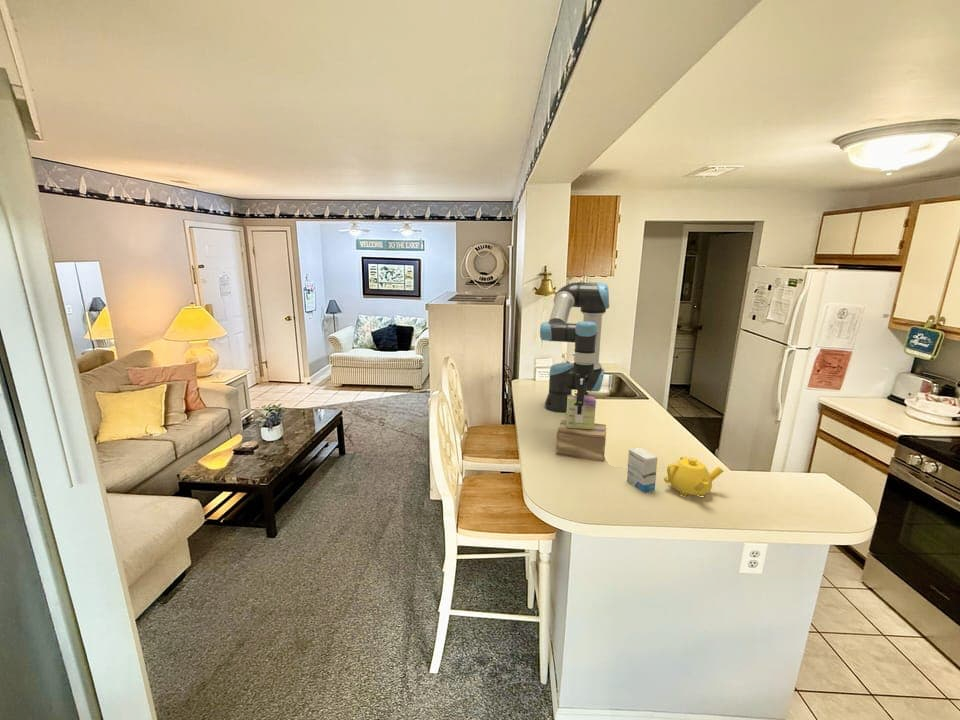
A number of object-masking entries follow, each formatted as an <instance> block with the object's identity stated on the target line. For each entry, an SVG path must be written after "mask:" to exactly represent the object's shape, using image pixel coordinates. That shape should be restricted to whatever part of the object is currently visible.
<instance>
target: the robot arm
mask: <svg viewBox="0 0 960 720" xmlns="http://www.w3.org/2000/svg"><path fill="white" fill-rule="evenodd" d="M609 294H610V293H609V286H608V284H607V283H602V282H571V283H567V284H566V285H564V286H562V287H561V288H559V289H558V290H557V292H556V293H555V294H554V297H553V307H552V310H551V313H550V316H549V319H548V321H545V322H541V324H540V328H539V338H540V340H542V341H547V342H559V343H574V352H573V353H572V356H573V363H569V362H559V363H555V364H552V365H551V366H550V368H549V374H548V375H549V384H548V393H547V396H546V399H545V401H544V408H545V409H547V411H552V412H555V413H556V412H557V413H566V409H567V396H568V395H572V396H573V394H572V393H573V391H574V390H575V391H576V392H577V393H576V396H577V400H576V403H574V405H575V406H576V415H575V422H580V423H583V409H584V404H583V403H584V396H589V392H595V393H596V392H599V391H601V388H602V385H603V380H604V374H605V369H604V368H602V366H603V365H602V364H601V363H600V350H601V349H600V348H601V337H602V322H603V316H604V314H605V313H606V312H607V310H608V309H610V295H609ZM572 308H580V312H581V313H582V314H583V319H582V320H583V321H582V320H581V321H578V322H577V323H569V322H568V319H569V316H570V312H571V309H572ZM580 402H582V403H580Z"/></svg>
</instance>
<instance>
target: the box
mask: <svg viewBox="0 0 960 720" xmlns="http://www.w3.org/2000/svg"><path fill="white" fill-rule="evenodd" d="M576 400H577V395H573V394H572V395H568V396H567V409H566V412H565V414H566V415H565V420H566V427H567V428H579V429H592V430H594V423H595V419H596V418H595V417H596V405H597V400H596V397H595V396H589V395H586V396H584V403H583V404H584V409H583V423H580V422H575V415H576V406H575V405H574V403H576ZM580 403H582V402H580Z"/></svg>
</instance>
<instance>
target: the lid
mask: <svg viewBox="0 0 960 720" xmlns="http://www.w3.org/2000/svg"><path fill="white" fill-rule="evenodd" d="M605 430H606V431H607V425H606V424H602V423H595V422H594V430H592V429H579V428H567V427H566V419H561V420H560V423H559V426H558V429H557V431H558V432H560V433H568V434H576V435H584V436H592V437H600V438H605Z"/></svg>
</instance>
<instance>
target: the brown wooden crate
mask: <svg viewBox="0 0 960 720" xmlns="http://www.w3.org/2000/svg"><path fill="white" fill-rule="evenodd" d="M606 440H607V429H606V430H605V438H600V437H592V436H584V435H576V434H568V433H560V432H558V430H557V431H556V440H555V455H556V456H565V457H571V458H572V457H573V458H577V459H585V460H592V461H598V460H599V462H604V461H605V452H606V451H605V450H606Z"/></svg>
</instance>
